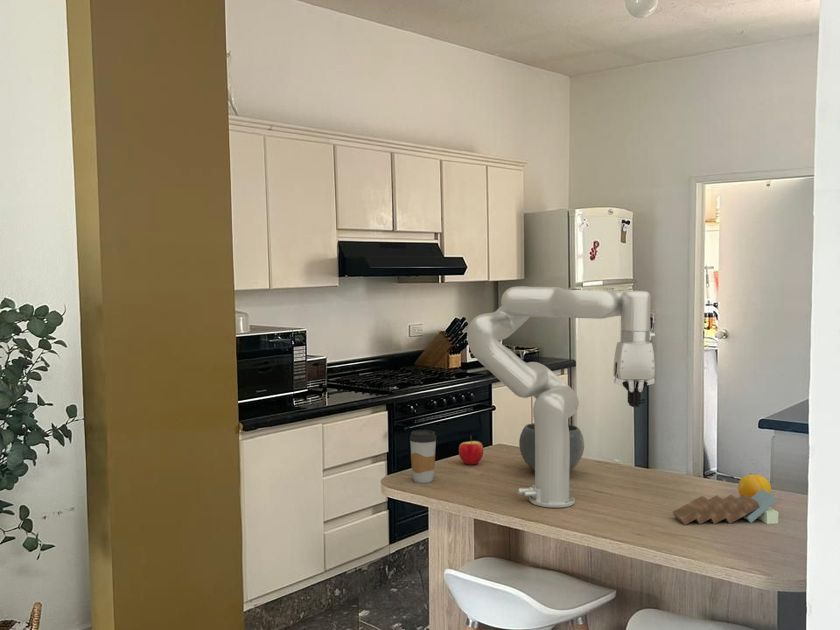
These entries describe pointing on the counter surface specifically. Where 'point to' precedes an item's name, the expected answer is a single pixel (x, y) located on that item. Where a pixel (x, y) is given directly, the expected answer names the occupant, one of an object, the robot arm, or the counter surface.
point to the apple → (471, 452)
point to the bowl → (529, 445)
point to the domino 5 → (760, 504)
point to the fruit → (753, 485)
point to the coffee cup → (423, 455)
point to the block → (769, 516)
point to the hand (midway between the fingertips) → (633, 405)
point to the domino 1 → (693, 510)
